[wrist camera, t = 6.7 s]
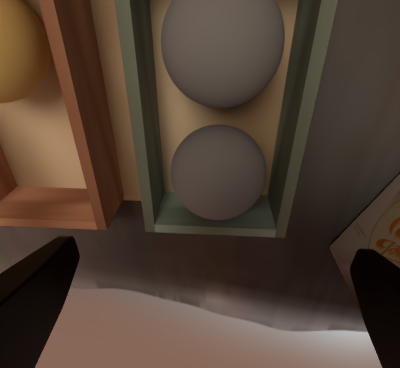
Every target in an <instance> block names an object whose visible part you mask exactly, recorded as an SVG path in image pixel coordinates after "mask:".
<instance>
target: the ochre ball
mask: <svg viewBox="0 0 400 368" xmlns="http://www.w3.org/2000/svg"><path fill="white" fill-rule="evenodd" d="M49 66H50V46H49V41H48V38H47V35H46V32H45V30H44V28H43V26H42V24H41V22H40V20H39V19H38V17H37V16H36V14H35V13H34V12H33V11H32V9H31V8H30V7H29V6H28V5H27V4H26V3H25V1H24V0H0V103H9V102H14V101H17V100H20V99H23V98H25V97H27V96H28V95H30V94H32V93H33V92H34V91H35V90H36V89H38V88H39V86H40V85H41V84H42V83H43V81H44V79H45V77H46V75H47V73H48V70H49Z"/></svg>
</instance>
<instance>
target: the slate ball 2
mask: <svg viewBox="0 0 400 368" xmlns="http://www.w3.org/2000/svg"><path fill="white" fill-rule="evenodd" d="M265 181H266V163H265V159H264V156H263V153H262V151H261V149H260V148H259V146H258V144H257V143H256V142H255V141H254V139H252V138H251V137H250V136H249V135H248V134H247V133H245V132H244V131H242V130H240V129H238V128H236V127H233V126H229V125H221V124H216V125H208V126H205V127H202V128H199V129H197V130H195V131H193V132H192V133H190V134H189V135H188V136H187V137H186V138H185V139H184V140H183V141H182V142H181V143H180V144H179V146H178V147H177V149H176V151H175V153H174V156H173V159H172V163H171V182H172V186H173V189H174V191H175V193H176V196H177V197H178V199H179V200H180V201H181V203H182V204H183V205H184V206H185V207H186V208H187V209H188V210H190V211H191V212H193V213H194V214H196V215H198V216H200V217H203V218H206V219H211V220H226V219H231V218H234V217H237V216H239V215H241V214H242V213H244V212H246V211H247V210H248V209H250V208H251V207H252V206H253V205H254V204H255V202H256V201H257V200H258V198H259V197H260V195H261V193H262V191H263V188H264V185H265Z"/></svg>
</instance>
